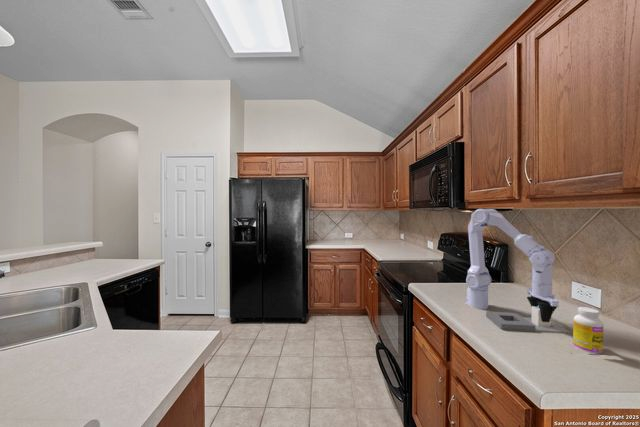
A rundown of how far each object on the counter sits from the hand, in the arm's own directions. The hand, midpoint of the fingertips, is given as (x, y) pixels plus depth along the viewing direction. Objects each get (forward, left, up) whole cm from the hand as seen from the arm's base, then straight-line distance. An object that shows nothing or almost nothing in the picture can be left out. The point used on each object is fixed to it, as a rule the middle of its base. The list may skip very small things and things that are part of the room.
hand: (541, 319), depth 102 cm
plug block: (0, 0, -3) cm, 3 cm away
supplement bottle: (+16, +4, -3) cm, 17 cm away
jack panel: (0, -5, -3) cm, 6 cm away
